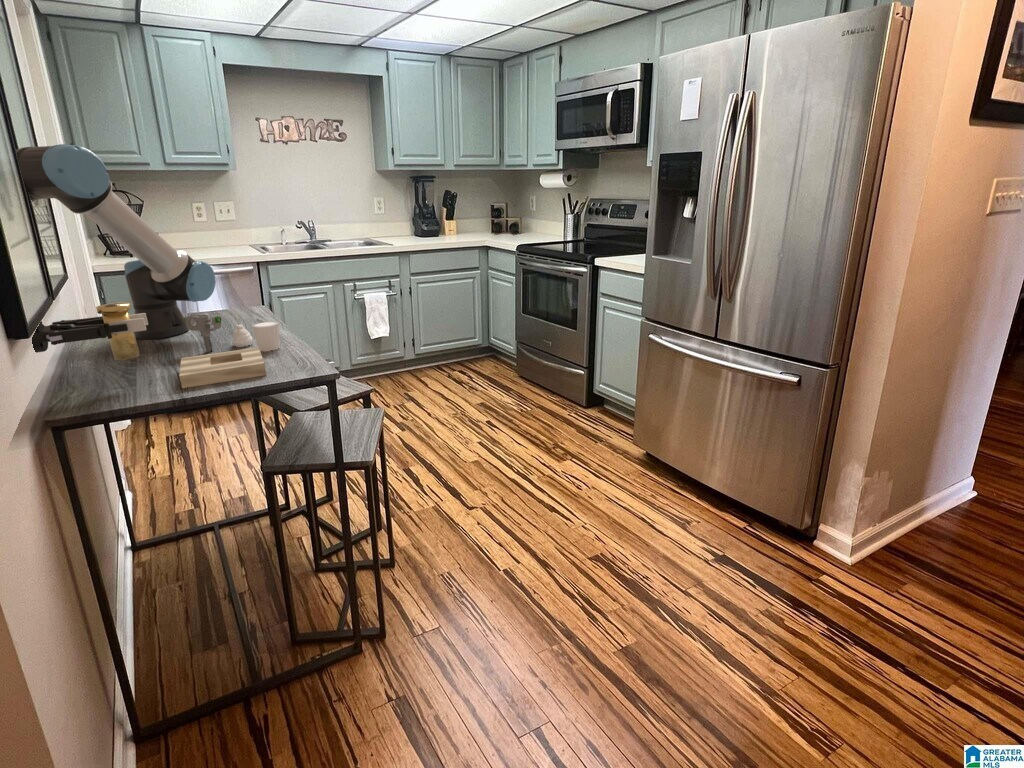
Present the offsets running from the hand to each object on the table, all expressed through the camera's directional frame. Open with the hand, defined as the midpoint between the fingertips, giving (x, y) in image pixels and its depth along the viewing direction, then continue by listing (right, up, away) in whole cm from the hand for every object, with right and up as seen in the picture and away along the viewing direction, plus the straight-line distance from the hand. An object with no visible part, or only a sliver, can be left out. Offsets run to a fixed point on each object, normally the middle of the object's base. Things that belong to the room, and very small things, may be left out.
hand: (145, 321), depth 136 cm
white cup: (+16, -5, +29) cm, 34 cm away
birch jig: (+13, -11, +10) cm, 20 cm away
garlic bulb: (+7, -3, +34) cm, 35 cm away
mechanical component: (0, -6, +28) cm, 29 cm away
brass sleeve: (-4, -8, 0) cm, 9 cm away
